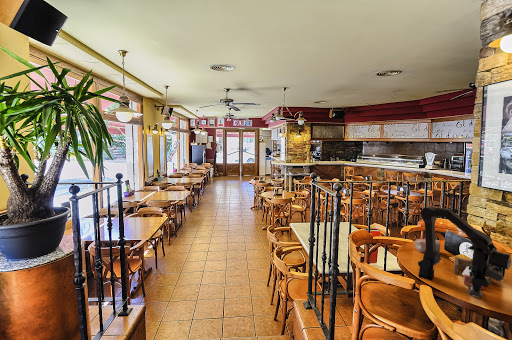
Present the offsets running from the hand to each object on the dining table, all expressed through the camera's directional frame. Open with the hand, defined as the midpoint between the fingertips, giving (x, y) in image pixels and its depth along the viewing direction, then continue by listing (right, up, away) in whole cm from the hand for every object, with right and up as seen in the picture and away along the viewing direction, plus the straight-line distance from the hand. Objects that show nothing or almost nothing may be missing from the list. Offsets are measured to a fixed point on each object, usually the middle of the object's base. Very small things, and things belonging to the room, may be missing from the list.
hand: (476, 291), depth 127 cm
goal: (+16, -1, +21) cm, 26 cm away
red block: (+3, -3, +5) cm, 6 cm away
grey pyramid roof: (+10, -2, +14) cm, 18 cm away
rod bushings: (+2, -3, +3) cm, 5 cm away
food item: (+10, +3, +52) cm, 53 cm away
